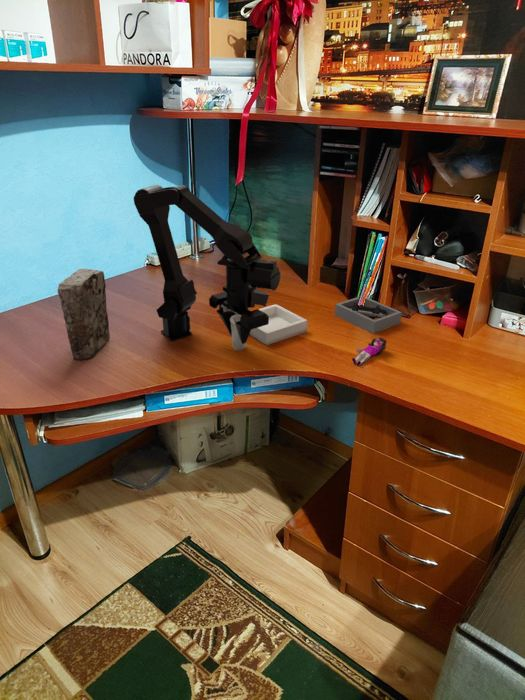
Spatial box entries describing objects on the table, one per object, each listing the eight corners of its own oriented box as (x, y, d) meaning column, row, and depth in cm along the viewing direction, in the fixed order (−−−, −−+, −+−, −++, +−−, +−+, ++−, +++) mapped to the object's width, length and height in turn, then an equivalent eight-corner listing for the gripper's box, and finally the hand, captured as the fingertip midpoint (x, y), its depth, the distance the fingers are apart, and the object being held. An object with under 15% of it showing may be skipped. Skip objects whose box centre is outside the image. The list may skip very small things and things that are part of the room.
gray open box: (373, 333, 148) (374, 322, 146) (334, 315, 158) (335, 304, 157) (400, 323, 154) (402, 312, 152) (361, 306, 164) (362, 295, 163)
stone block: (88, 336, 144) (77, 266, 135) (113, 338, 144) (104, 267, 134) (68, 360, 132) (54, 285, 123) (96, 362, 132) (84, 286, 123)
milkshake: (226, 351, 138) (225, 316, 133) (234, 342, 142) (233, 308, 137) (242, 354, 136) (242, 318, 131) (250, 345, 141) (250, 310, 136)
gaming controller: (348, 320, 159) (345, 312, 152) (351, 306, 160) (348, 298, 153) (384, 325, 156) (383, 317, 149) (387, 311, 157) (386, 302, 150)
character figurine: (365, 372, 131) (390, 350, 138) (365, 355, 128) (391, 333, 135) (345, 365, 134) (371, 344, 142) (345, 348, 132) (371, 327, 139)
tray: (266, 345, 141) (266, 333, 139) (236, 326, 151) (236, 315, 149) (306, 331, 148) (307, 320, 147) (275, 314, 158) (275, 304, 156)
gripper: (287, 287, 128) (285, 344, 136) (242, 266, 141) (243, 319, 149) (249, 297, 122) (249, 357, 130) (207, 274, 135) (209, 330, 143)
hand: (238, 339), depth 138 cm, fingers open, 5 cm apart
